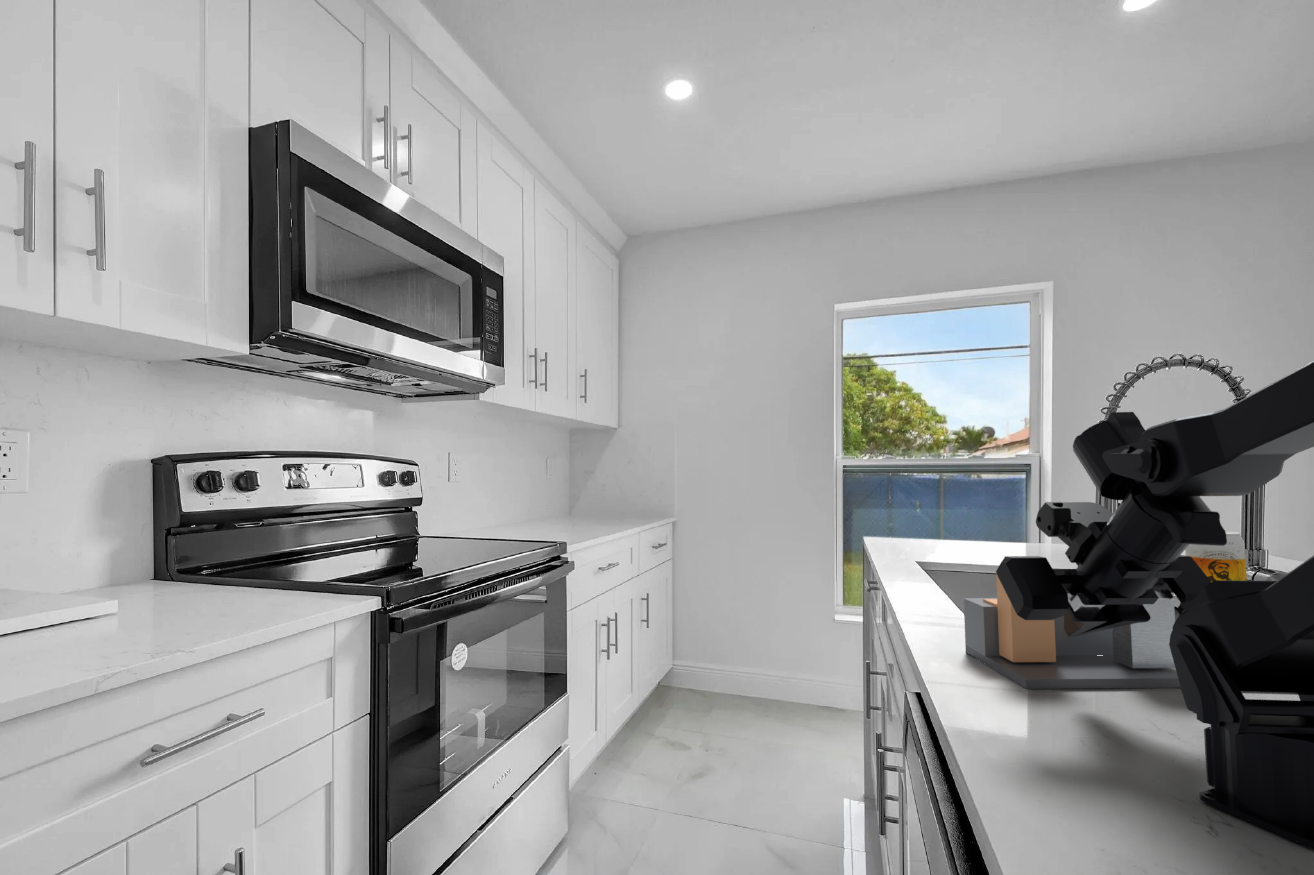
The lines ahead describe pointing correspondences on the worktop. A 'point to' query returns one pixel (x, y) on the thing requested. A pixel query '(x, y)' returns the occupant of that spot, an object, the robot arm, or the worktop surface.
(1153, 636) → the light grey block
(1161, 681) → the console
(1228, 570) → the beer can
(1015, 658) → the tan rectangular block
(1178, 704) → the worktop surface
